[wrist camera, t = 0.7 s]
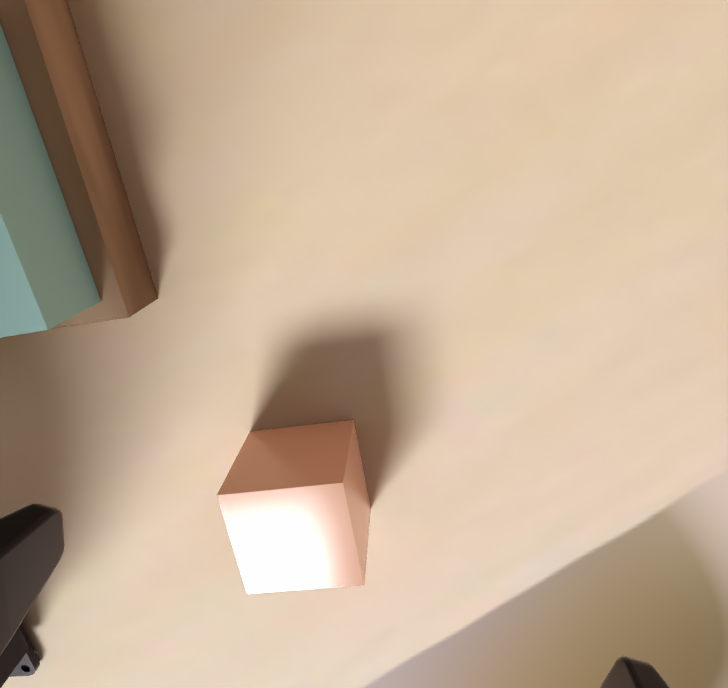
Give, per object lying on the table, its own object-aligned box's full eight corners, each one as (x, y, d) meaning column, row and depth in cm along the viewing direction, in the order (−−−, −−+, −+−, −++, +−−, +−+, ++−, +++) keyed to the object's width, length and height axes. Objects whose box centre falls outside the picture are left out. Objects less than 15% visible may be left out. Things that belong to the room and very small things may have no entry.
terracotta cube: (273, 516, 25) (247, 594, 20) (250, 430, 23) (216, 495, 19) (370, 507, 24) (364, 584, 20) (353, 418, 22) (343, 482, 18)
